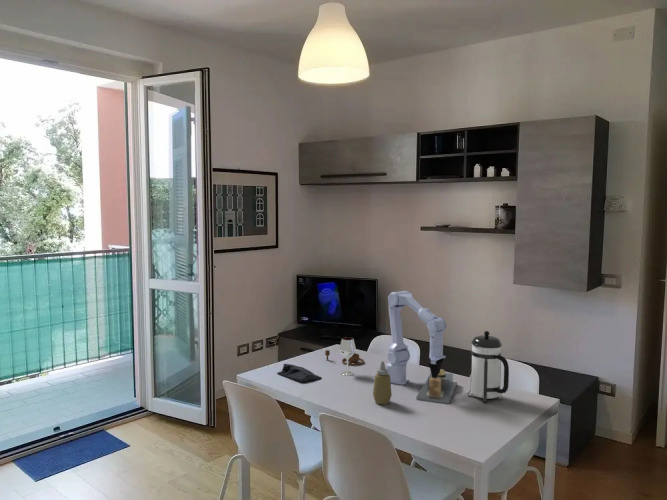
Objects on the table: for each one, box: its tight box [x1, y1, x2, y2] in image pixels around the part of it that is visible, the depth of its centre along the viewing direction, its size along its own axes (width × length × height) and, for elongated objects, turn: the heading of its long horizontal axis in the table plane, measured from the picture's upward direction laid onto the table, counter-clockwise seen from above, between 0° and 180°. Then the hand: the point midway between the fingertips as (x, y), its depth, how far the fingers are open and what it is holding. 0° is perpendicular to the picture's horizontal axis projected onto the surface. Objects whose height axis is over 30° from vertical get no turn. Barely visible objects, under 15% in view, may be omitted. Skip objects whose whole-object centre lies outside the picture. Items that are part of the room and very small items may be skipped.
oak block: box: [429, 377, 441, 396], centre depth 223 cm, size 4×4×6 cm
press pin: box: [437, 368, 446, 377], centre depth 235 cm, size 4×4×3 cm
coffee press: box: [467, 330, 510, 404], centre depth 219 cm, size 17×16×30 cm
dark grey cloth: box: [276, 363, 323, 383], centre depth 250 cm, size 15×22×5 cm
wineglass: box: [339, 336, 357, 377], centre depth 253 cm, size 8×8×18 cm
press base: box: [415, 372, 458, 405], centre depth 228 cm, size 14×26×5 cm, turn 159°
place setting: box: [324, 349, 365, 367], centre depth 275 cm, size 18×20×6 cm
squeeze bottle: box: [372, 360, 393, 406], centre depth 215 cm, size 8×8×18 cm
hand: (435, 375), depth 222 cm, fingers open, 5 cm apart
